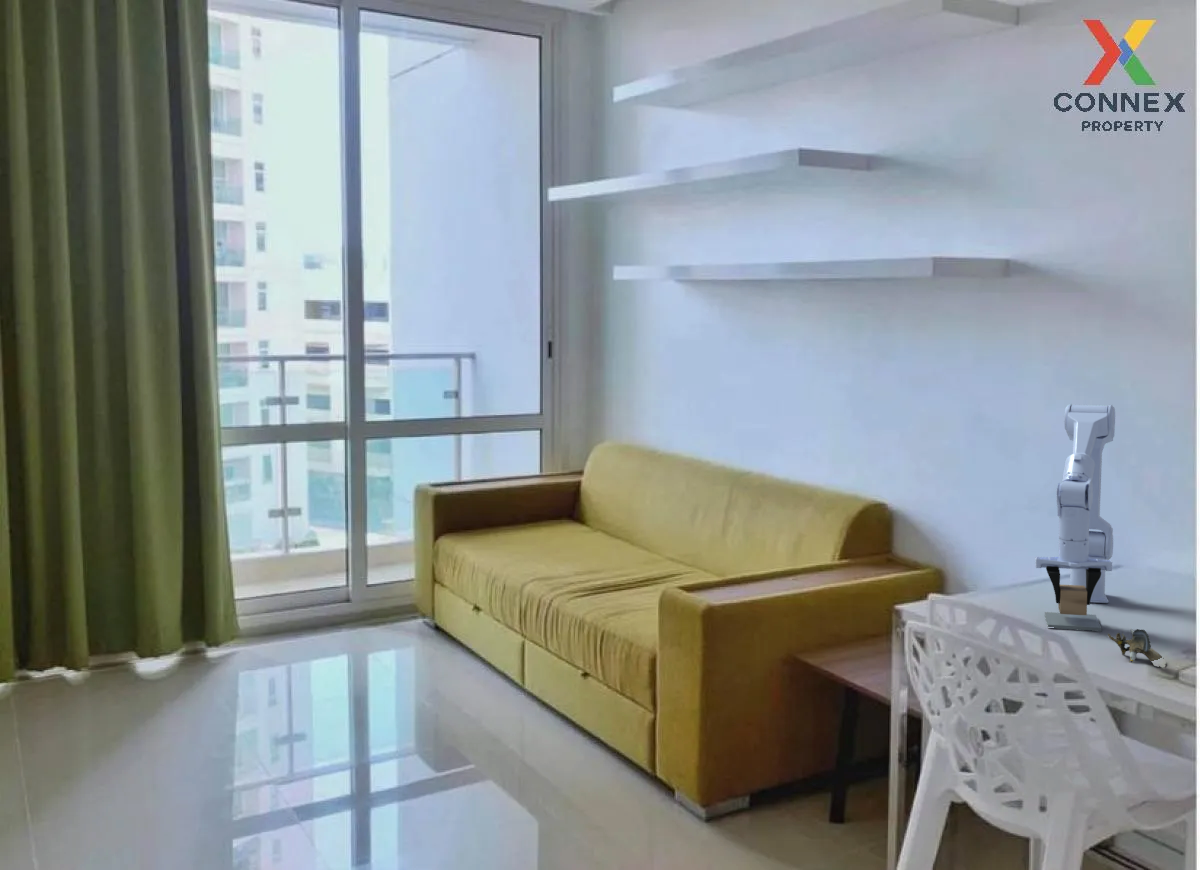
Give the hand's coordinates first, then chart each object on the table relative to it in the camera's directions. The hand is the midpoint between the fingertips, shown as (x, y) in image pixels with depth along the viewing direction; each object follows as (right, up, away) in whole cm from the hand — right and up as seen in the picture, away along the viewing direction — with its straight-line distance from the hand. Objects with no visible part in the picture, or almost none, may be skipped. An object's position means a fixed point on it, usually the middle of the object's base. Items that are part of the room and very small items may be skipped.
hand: (1072, 603), depth 228 cm
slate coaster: (0, -4, 0) cm, 4 cm away
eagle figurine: (+2, -7, -25) cm, 26 cm away
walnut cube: (0, -2, 0) cm, 2 cm away
